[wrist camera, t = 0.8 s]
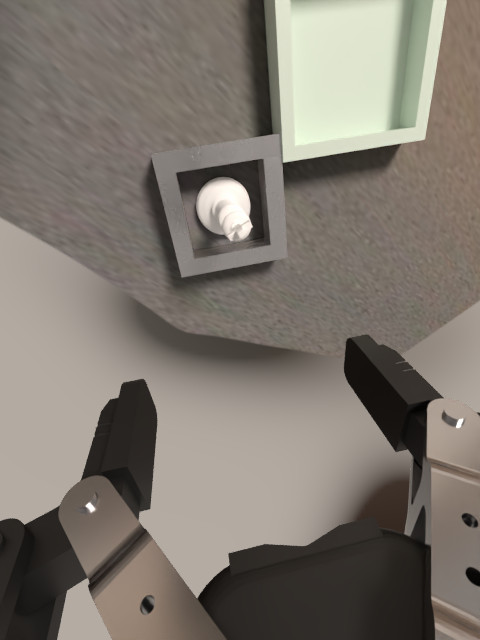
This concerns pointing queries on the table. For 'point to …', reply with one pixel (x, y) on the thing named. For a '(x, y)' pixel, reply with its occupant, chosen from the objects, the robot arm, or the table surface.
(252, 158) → the collar block
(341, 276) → the table surface
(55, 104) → the table surface
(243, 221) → the chess piece
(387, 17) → the tray
